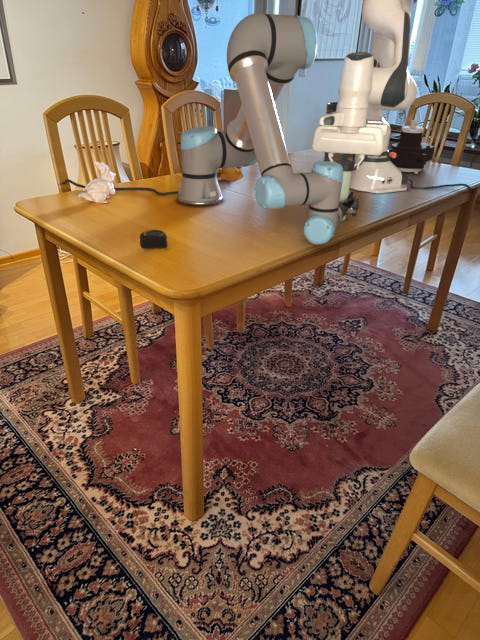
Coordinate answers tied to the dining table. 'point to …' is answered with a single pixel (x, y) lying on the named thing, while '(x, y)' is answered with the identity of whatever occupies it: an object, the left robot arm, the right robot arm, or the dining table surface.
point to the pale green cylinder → (345, 186)
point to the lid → (346, 164)
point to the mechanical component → (411, 149)
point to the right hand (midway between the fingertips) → (344, 169)
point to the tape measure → (153, 239)
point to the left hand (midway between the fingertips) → (343, 195)
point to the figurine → (99, 185)
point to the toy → (230, 173)
